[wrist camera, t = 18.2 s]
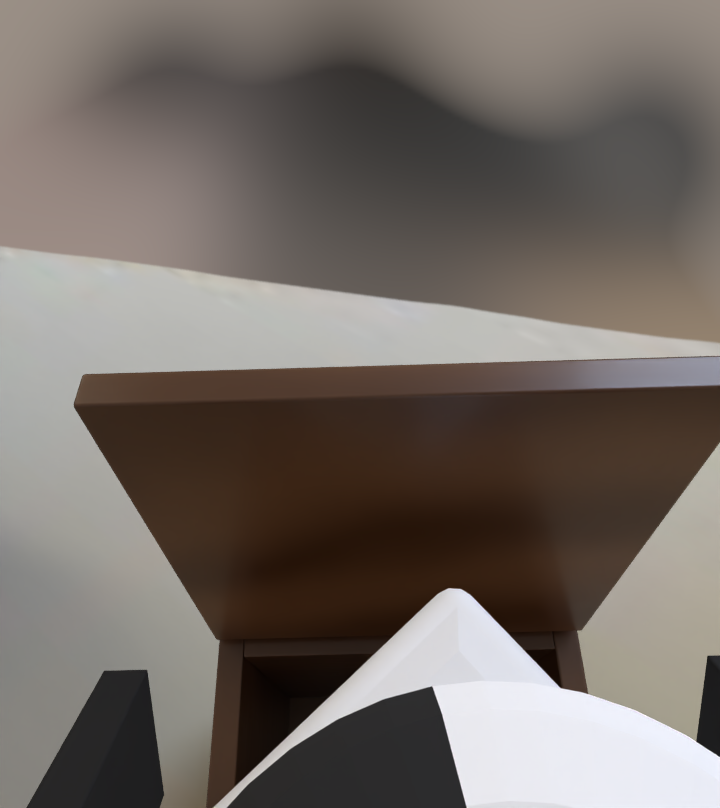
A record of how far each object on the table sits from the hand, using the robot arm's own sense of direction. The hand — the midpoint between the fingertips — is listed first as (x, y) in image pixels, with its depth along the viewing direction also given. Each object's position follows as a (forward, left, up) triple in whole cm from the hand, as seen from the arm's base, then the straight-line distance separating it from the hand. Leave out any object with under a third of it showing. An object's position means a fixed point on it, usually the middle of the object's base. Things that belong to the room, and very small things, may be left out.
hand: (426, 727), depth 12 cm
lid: (0, -4, -4) cm, 6 cm away
